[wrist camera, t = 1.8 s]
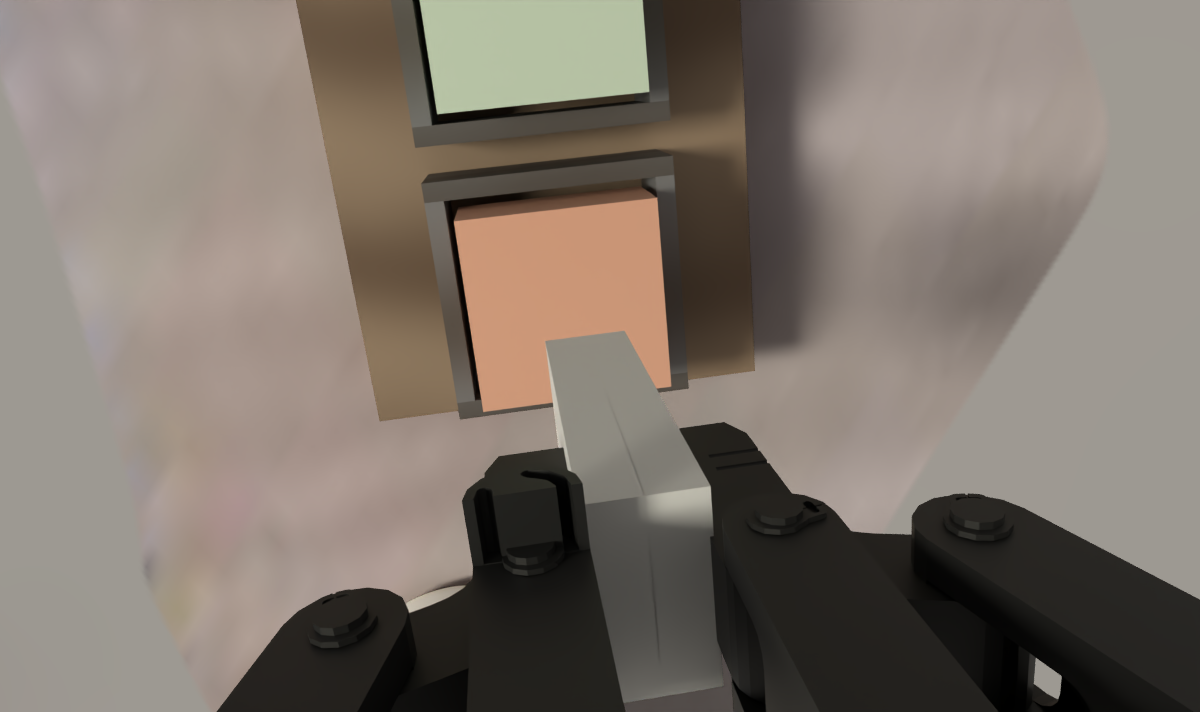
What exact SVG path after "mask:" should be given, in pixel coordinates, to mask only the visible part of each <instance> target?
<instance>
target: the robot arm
mask: <svg viewBox="0 0 1200 712" xmlns="http://www.w3.org/2000/svg"><path fill="white" fill-rule="evenodd" d="M545 344H546V352H547V360H548V368H549V376H550V384H551V392H552V400H553V408H554V416H555V424H556V432H557V440H558V448H555V449H548V450H541V451H534V452H527V453H519V454H512V455H505V456H499V457H498V458H497V459H496V460H495V461H494V463H493V464H492V465H491V466H490V467H489V468H488V470H487V471H486V472H485V478H482V479H480V480H479V481H478V482H476V483H475V484H474V485H473V486H471V487H470V488H469V489H467V491H466V493H465V495H464V498H463V500H462V504H463V510H464V516H465V522H466V527H467V533H468V539H469V545H470V551H471V557H472V563H473V580H471V581H470V582H469V583H468V584H467V585H466V586H465V587H464V588H463V589H461V590H460V591H458V592H456V593H455V594H453V595H452V596H450V597H448V598H446V599H444V600H442V601H439V602H437V603H435V604H432V605H430V606H427V607H424V608H421V609H419V610H416V611H413V612H410V613H409V610H408V608H407V606H406V604H405V602H404V600H403V598H402V597H400V596H398V595H396V594H395V593H393V592H391V591H389V590H383V589H374V588H362V589H354V590H344V591H339V592H335V593H336V594H330V595H327V596H325V597H322V598H320V599H319V600H317V601H315V602H313V603H312V604H310V605H308V606H306V607H305V608H303V609H301V610H299V611H298V612H297V613H296V614H295V615H294V616H292V617H291V618H290V619H289V620H288V621H287V622H286V623H285V624H284V625H283V626H282V627H281V628H280V630H279V631H278V632H277V634H276V635H275V636H274V638H273V639H272V640H271V642H270V643H269V644H268V645H267V647H266V648H265V649H264V651H263V652H262V653H261V655H260V656H259V657H258V659H257V660H256V661H255V662H254V664H253V665H252V666H251V668H250V669H249V670H248V672H247V673H246V674H245V675H244V677H243V678H242V679H241V681H240V682H239V683H238V685H237V686H236V687H235V689H234V690H233V691H232V692H231V694H230V695H229V696H228V698H227V699H226V700H225V702H224V703H223V704H222V706H221V707H220V708H219V709H218V711H217V712H625V708H624V703H628V702H634V701H640V700H646V699H651V698H657V697H663V696H669V695H675V694H681V693H687V692H693V691H699V690H705V689H711V688H717V687H723V672H722V656H721V652H722V654H723V657H724V659H725V662H726V664H727V666H728V669H729V671H730V674H731V676H732V693H733V709H734V712H1200V600H1199V599H1198V598H1196V597H1193V596H1192V595H1190V594H1188V593H1186V592H1184V591H1182V590H1180V589H1178V588H1176V587H1174V586H1173V585H1170V584H1168V583H1167V582H1165V581H1163V580H1161V579H1159V578H1157V577H1155V576H1153V575H1151V574H1149V573H1148V572H1145V571H1144V570H1142V569H1140V568H1138V567H1136V566H1134V565H1132V564H1130V563H1128V562H1126V561H1124V560H1123V559H1121V558H1118V557H1117V556H1115V555H1113V554H1111V553H1109V552H1107V551H1105V550H1103V549H1101V548H1099V547H1097V546H1096V545H1094V544H1092V543H1090V542H1088V541H1086V540H1084V539H1082V538H1080V537H1078V536H1076V535H1074V534H1073V533H1071V532H1069V531H1067V530H1065V529H1063V528H1061V527H1059V526H1057V525H1055V524H1053V523H1051V522H1050V521H1048V520H1046V519H1044V518H1042V517H1040V516H1038V515H1036V514H1034V513H1032V512H1030V511H1028V510H1026V509H1025V508H1022V507H1020V506H1017V505H1014V504H1012V503H1009V502H1007V501H1004V500H1001V499H995V498H990V497H985V496H984V495H980V494H968V495H965V494H953V495H950V496H944V497H939V498H933V499H931V500H929V501H927V502H925V503H923V504H921V505H919V506H918V507H917V509H916V511H915V512H914V513H913V515H912V535H904V534H902V535H901V534H873V533H861V532H853V531H851V530H850V529H849V528H848V527H847V526H846V524H845V523H844V522H843V521H842V519H841V518H840V517H839V516H838V515H837V513H836V512H835V511H834V510H833V509H831V508H830V507H829V506H827V505H826V504H825V503H823V502H822V501H819V500H816V499H813V498H811V497H808V496H805V495H799V494H792V493H791V492H790V490H789V489H788V488H787V486H786V485H785V484H784V482H783V481H782V480H781V478H780V477H779V476H778V474H777V473H776V472H775V470H774V469H773V468H772V466H771V465H770V464H769V463H767V460H766V458H765V457H764V456H763V454H762V453H761V452H760V451H758V448H757V446H756V445H755V444H754V442H753V441H752V440H751V438H750V437H749V436H748V434H747V433H745V432H743V431H741V430H739V429H737V428H735V427H733V426H731V425H729V424H727V423H725V422H722V423H715V424H708V425H701V426H694V427H687V428H680V429H679V428H678V426H677V425H676V423H675V421H674V419H673V417H672V416H671V414H670V412H669V410H668V408H667V407H666V405H665V403H664V401H663V399H662V398H661V396H660V394H659V392H658V390H657V388H656V387H655V385H654V383H653V381H652V379H651V378H650V376H649V374H648V372H647V370H646V369H645V367H644V365H643V363H642V361H641V360H640V358H639V356H638V354H637V352H636V351H635V349H634V347H633V345H632V343H631V342H630V340H629V338H628V336H627V334H626V333H625V331H618V332H610V333H603V334H595V335H587V336H580V337H572V338H564V339H556V340H549V341H545ZM1036 658H1037V659H1039V660H1040V661H1041V662H1043V663H1044V664H1046V665H1047V666H1048V667H1050V668H1051V669H1053V670H1054V671H1055V672H1057V673H1059V674H1060V675H1061V676H1062V680H1061V691H1060V696H1059V699H1056V698H1054V697H1052V696H1050V695H1048V694H1046V693H1045V692H1044V691H1042V690H1041V689H1040V688H1039V687H1037V686H1036V685H1034V673H1035V659H1036Z"/></svg>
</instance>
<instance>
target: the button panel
mask: <svg viewBox="0 0 1200 712" xmlns="http://www.w3.org/2000/svg"><path fill="white" fill-rule="evenodd" d="M296 3H297V8H298V13H299V18H300V23H301V28H302V33H303V38H304V43H305V48H306V53H307V58H308V63H309V68H310V73H311V78H312V83H313V88H314V93H315V98H316V104H317V109H318V114H319V119H320V124H321V129H322V134H323V139H324V144H325V149H326V154H327V159H328V164H329V169H330V174H331V179H332V184H333V189H334V194H335V199H336V204H337V209H338V214H339V219H340V224H341V229H342V234H343V239H344V244H345V249H346V254H347V259H348V264H349V269H350V274H351V279H352V284H353V289H354V294H355V299H356V304H357V309H358V315H359V320H360V325H361V330H362V335H363V340H364V345H365V350H366V355H367V360H368V365H369V370H370V375H371V380H372V385H373V390H374V395H375V400H376V405H377V410H378V415H379V420H380V421H385V420H393V419H400V418H408V417H415V416H422V415H430V414H437V413H445V412H452V411H459V417H460V419H467V418H474V417H482V416H489V415H496V414H504V413H511V412H518V411H526V410H533V409H541V408H548V407H553V403H546V404H539V405H531V406H524V407H516V408H509V409H502V410H494V411H487V412H483V407H482V400H481V394H480V387H479V381H478V374H477V368H476V361H475V355H474V348H473V342H472V335H471V329H470V323H469V316H468V310H467V303H466V297H465V290H464V284H463V277H462V271H461V264H460V258H459V251H458V245H457V238H456V232H455V225H454V219H455V216H456V213H457V210H458V207H463V206H472V205H481V204H489V203H498V202H507V201H516V200H524V199H533V198H542V197H550V196H559V195H568V194H577V193H585V192H594V191H603V190H612V189H620V188H629V187H638V186H641V187H642V188H644V189H645V190H647V191H648V192H650V193H651V194H652V195H654V196H655V197H657V201H658V214H659V228H660V241H661V255H662V268H663V281H664V295H665V308H666V322H667V335H668V349H669V362H670V375H671V387H664V388H657V390H658V392H666V391H673V390H681V389H688V388H689V387H688V380H690V379H697V378H704V377H712V376H719V375H727V374H734V373H741V372H749V371H755V363H754V338H753V313H752V287H751V262H750V237H749V211H748V186H747V161H746V136H745V110H744V85H743V60H742V34H741V9H740V0H643V13H644V27H645V40H646V54H647V67H648V80H649V92H643V93H634V94H624V95H615V96H605V97H596V98H586V99H577V100H567V101H558V102H548V103H539V104H529V105H520V106H510V107H501V108H491V109H482V110H472V111H463V112H453V113H444V114H437V109H436V103H435V96H434V90H433V83H432V77H431V70H430V64H429V57H428V51H427V44H426V38H425V31H424V25H423V19H422V12H421V6H420V0H296Z"/></svg>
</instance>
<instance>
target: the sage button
mask: <svg viewBox="0 0 1200 712" xmlns="http://www.w3.org/2000/svg"><path fill="white" fill-rule="evenodd" d="M420 6H421V12H422V19H423V25H424V31H425V38H426V44H427V51H428V57H429V64H430V70H431V77H432V83H433V90H434V96H435V103H436V109H437V114H444V113H453V112H463V111H472V110H482V109H491V108H501V107H510V106H520V105H529V104H539V103H548V102H558V101H567V100H577V99H586V98H596V97H605V96H615V95H624V94H634V93H643V92H649V80H648V67H647V54H646V40H645V27H644V13H643V0H420Z"/></svg>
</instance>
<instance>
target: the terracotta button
mask: <svg viewBox="0 0 1200 712" xmlns="http://www.w3.org/2000/svg"><path fill="white" fill-rule="evenodd" d="M454 225H455V232H456V238H457V245H458V251H459V258H460V264H461V271H462V277H463V284H464V290H465V297H466V303H467V310H468V316H469V323H470V329H471V335H472V342H473V348H474V355H475V361H476V368H477V374H478V381H479V387H480V394H481V400H482V407H483V412H487V411H494V410H502V409H509V408H516V407H524V406H531V405H539V404H546V403H553V400H552V392H551V384H550V376H549V368H548V360H547V352H546V344H545V341H549V340H556V339H564V338H572V337H580V336H587V335H595V334H603V333H610V332H618V331H625V333H626V334H627V336H628V338H629V340H630V342H631V343H632V345H633V347H634V349H635V351H636V352H637V354H638V356H639V358H640V360H641V361H642V363H643V365H644V367H645V369H646V370H647V372H648V374H649V376H650V378H651V379H652V381H653V383H654V385H655V387H656V388H664V387H671V375H670V362H669V349H668V335H667V322H666V308H665V295H664V281H663V268H662V255H661V241H660V228H659V214H658V201H657V197H655V196H654V195H652V194H651V193H650V192H648V191H647V190H645V189H644V188H642V187H641V186H638V187H629V188H620V189H612V190H603V191H594V192H585V193H577V194H568V195H559V196H550V197H542V198H533V199H524V200H516V201H507V202H498V203H489V204H481V205H472V206H463V207H458V210H457V213H456V216H455V219H454Z"/></svg>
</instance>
